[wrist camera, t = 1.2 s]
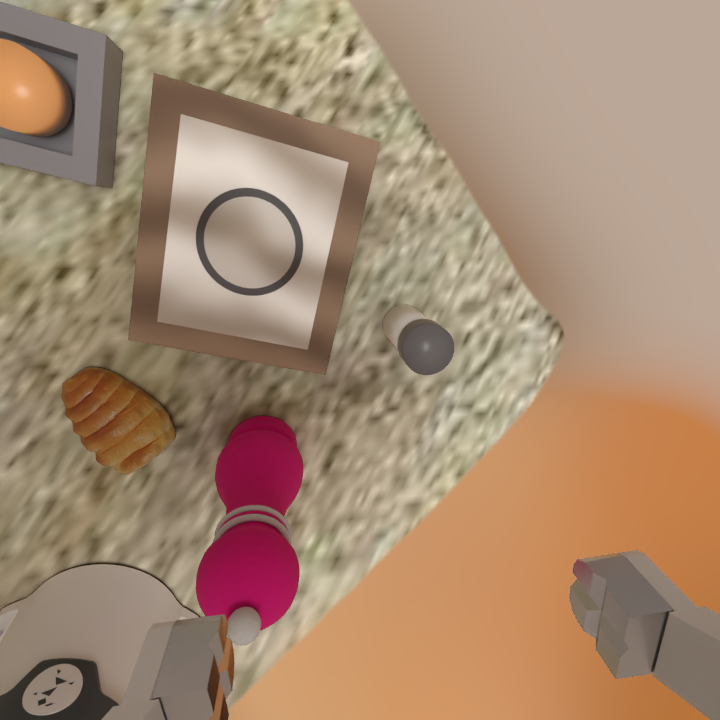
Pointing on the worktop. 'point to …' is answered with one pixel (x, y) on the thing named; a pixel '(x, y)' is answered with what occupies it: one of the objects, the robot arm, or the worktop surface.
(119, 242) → the worktop surface
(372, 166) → the board
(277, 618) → the pepper mill
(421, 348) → the marker
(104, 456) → the pastry
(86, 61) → the button base
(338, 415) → the worktop surface
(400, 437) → the worktop surface
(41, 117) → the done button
